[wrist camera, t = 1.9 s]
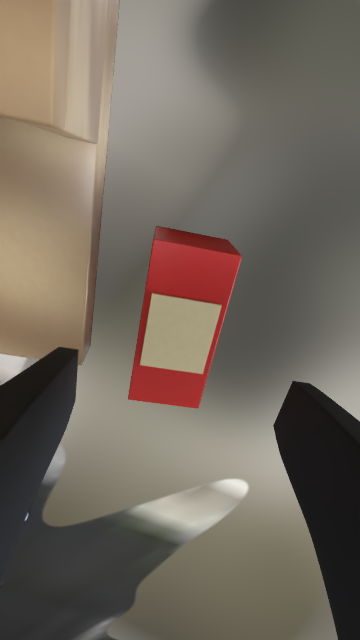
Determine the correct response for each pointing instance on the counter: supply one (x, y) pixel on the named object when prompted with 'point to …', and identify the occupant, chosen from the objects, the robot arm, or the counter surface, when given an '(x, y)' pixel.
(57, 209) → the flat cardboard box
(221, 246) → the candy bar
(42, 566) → the counter surface
